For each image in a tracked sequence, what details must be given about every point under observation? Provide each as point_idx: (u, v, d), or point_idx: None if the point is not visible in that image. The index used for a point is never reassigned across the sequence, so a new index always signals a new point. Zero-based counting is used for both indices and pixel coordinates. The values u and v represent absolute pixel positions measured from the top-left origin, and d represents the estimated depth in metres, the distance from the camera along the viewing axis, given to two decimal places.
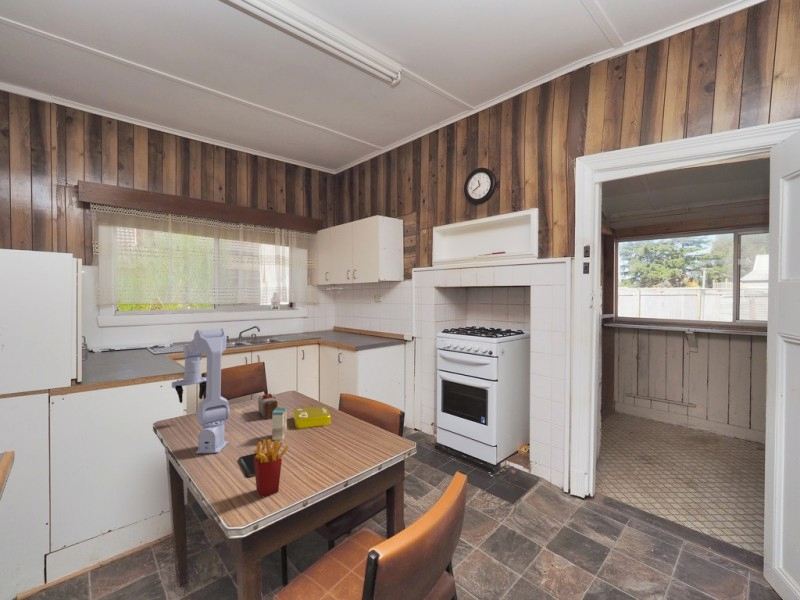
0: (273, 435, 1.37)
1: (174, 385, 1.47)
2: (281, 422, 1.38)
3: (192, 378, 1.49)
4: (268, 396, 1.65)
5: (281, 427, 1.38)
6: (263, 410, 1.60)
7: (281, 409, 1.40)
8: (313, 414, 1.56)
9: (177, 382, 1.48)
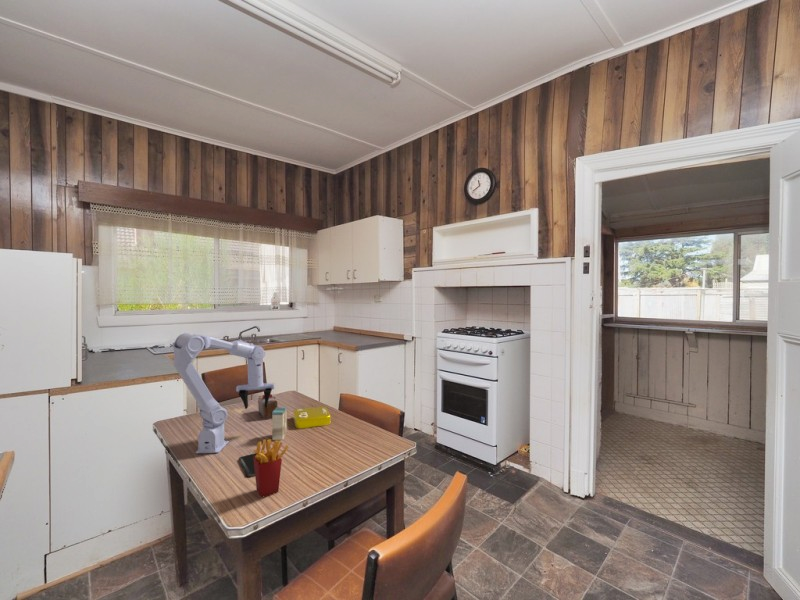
0: (273, 435, 1.37)
1: (237, 388, 1.41)
2: (281, 422, 1.38)
3: (252, 382, 1.41)
4: None
5: (281, 427, 1.38)
6: (263, 410, 1.60)
7: (281, 409, 1.40)
8: (313, 414, 1.56)
9: (241, 386, 1.42)
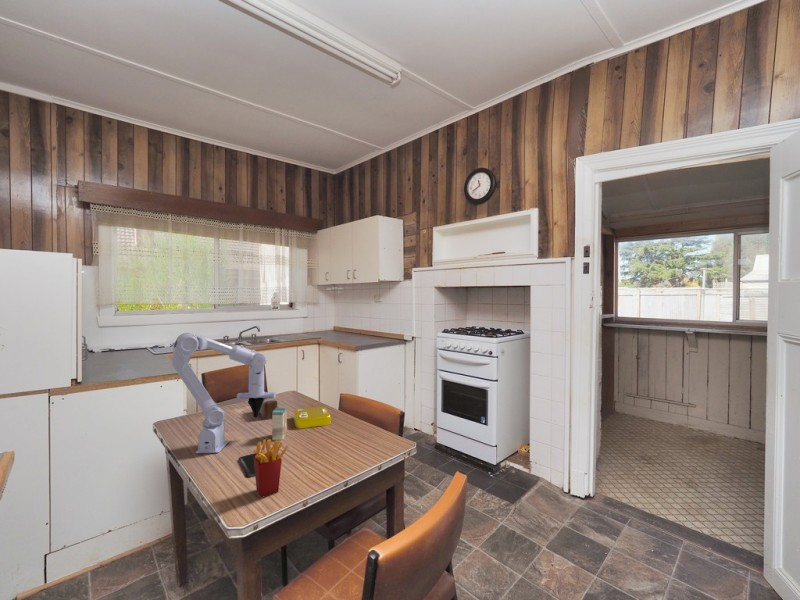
0: (273, 435, 1.37)
1: (238, 396, 1.38)
2: (281, 422, 1.38)
3: (252, 390, 1.37)
4: None
5: (281, 427, 1.38)
6: (263, 410, 1.60)
7: (281, 409, 1.40)
8: (313, 414, 1.55)
9: (242, 394, 1.39)
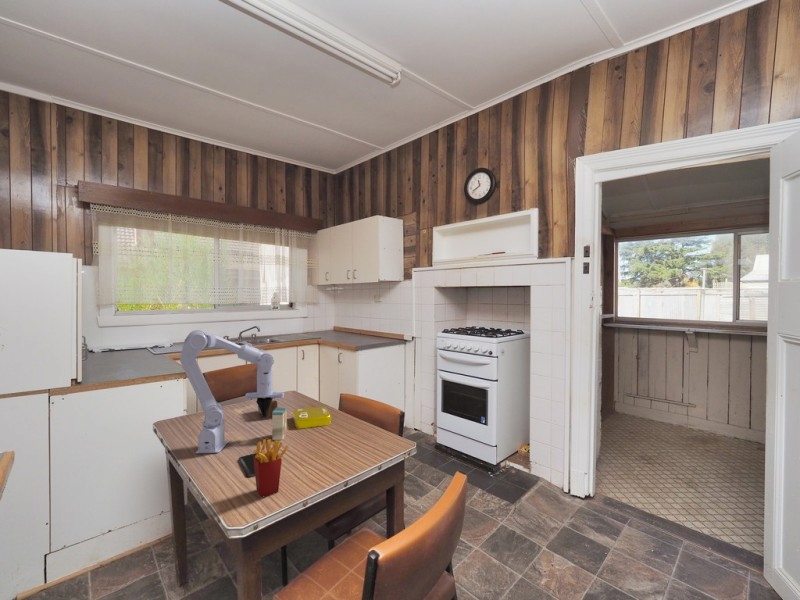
0: (273, 435, 1.37)
1: (246, 396, 1.38)
2: (281, 422, 1.38)
3: (261, 390, 1.37)
4: None
5: (281, 427, 1.38)
6: None
7: (281, 409, 1.40)
8: (313, 414, 1.55)
9: (250, 393, 1.39)
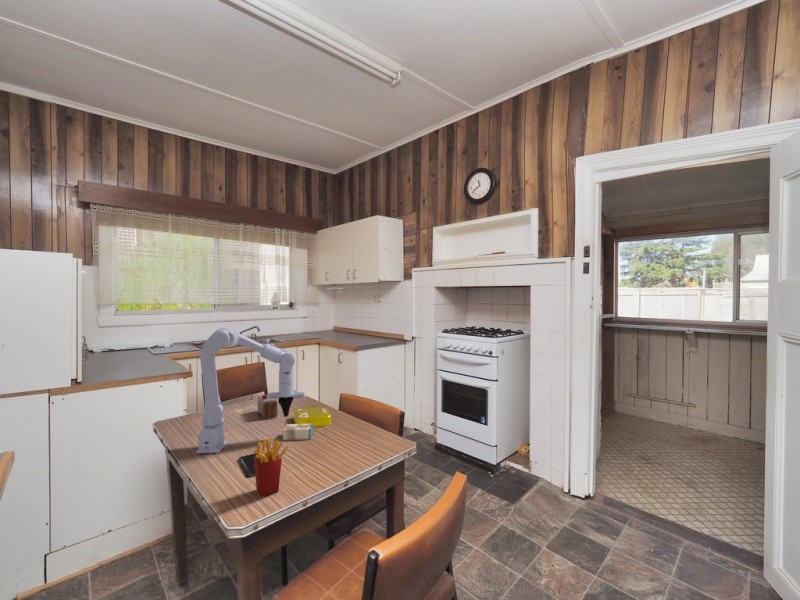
0: (287, 430, 1.38)
1: (268, 396, 1.39)
2: (300, 438, 1.38)
3: (283, 390, 1.38)
4: None
5: (295, 438, 1.38)
6: (263, 410, 1.59)
7: (312, 433, 1.42)
8: (313, 414, 1.55)
9: (272, 393, 1.40)
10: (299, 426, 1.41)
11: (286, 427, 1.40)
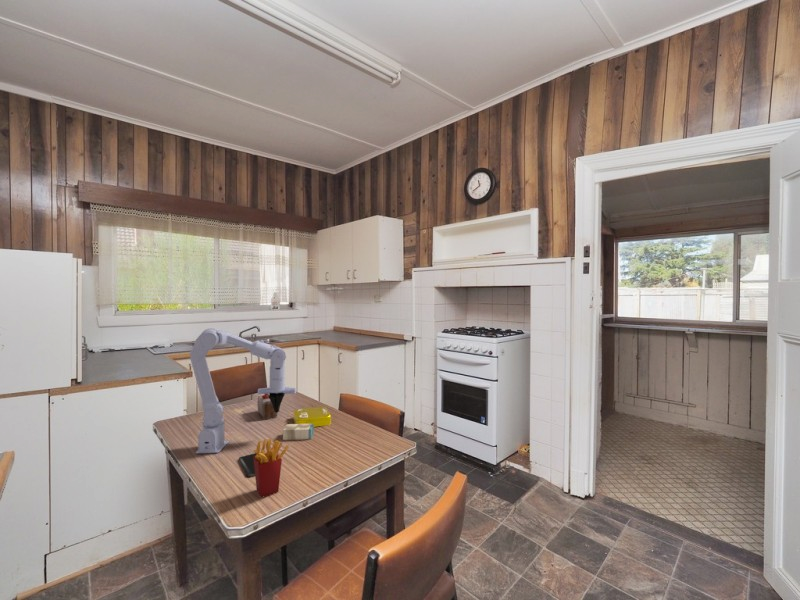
0: (287, 430, 1.38)
1: (259, 391, 1.38)
2: (300, 438, 1.38)
3: (273, 385, 1.37)
4: (268, 396, 1.65)
5: (295, 438, 1.38)
6: (263, 410, 1.59)
7: (312, 433, 1.42)
8: (313, 414, 1.55)
9: (263, 389, 1.39)
10: (299, 426, 1.42)
11: (286, 427, 1.40)
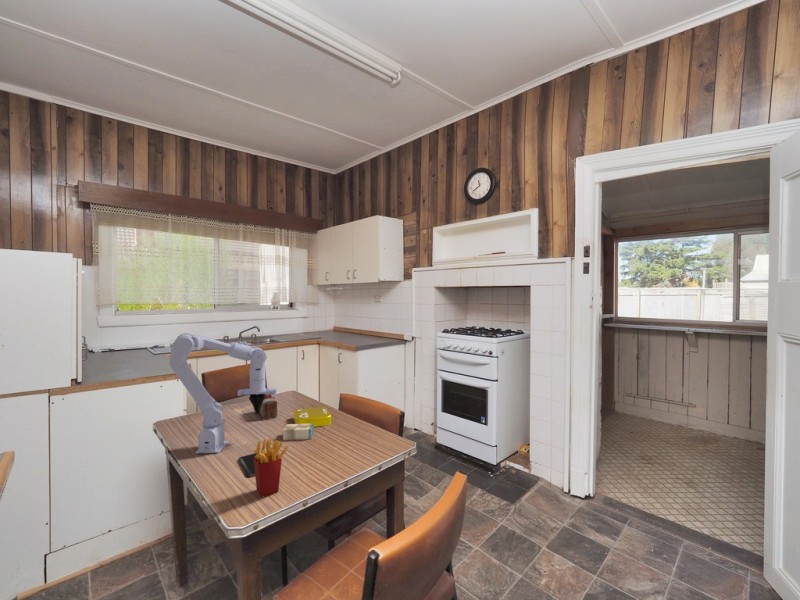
0: (287, 430, 1.38)
1: (239, 393, 1.36)
2: (300, 438, 1.38)
3: (253, 387, 1.35)
4: (267, 396, 1.64)
5: (295, 438, 1.38)
6: (263, 410, 1.59)
7: (312, 433, 1.42)
8: (313, 414, 1.55)
9: (243, 390, 1.37)
10: (299, 426, 1.42)
11: (286, 427, 1.40)
